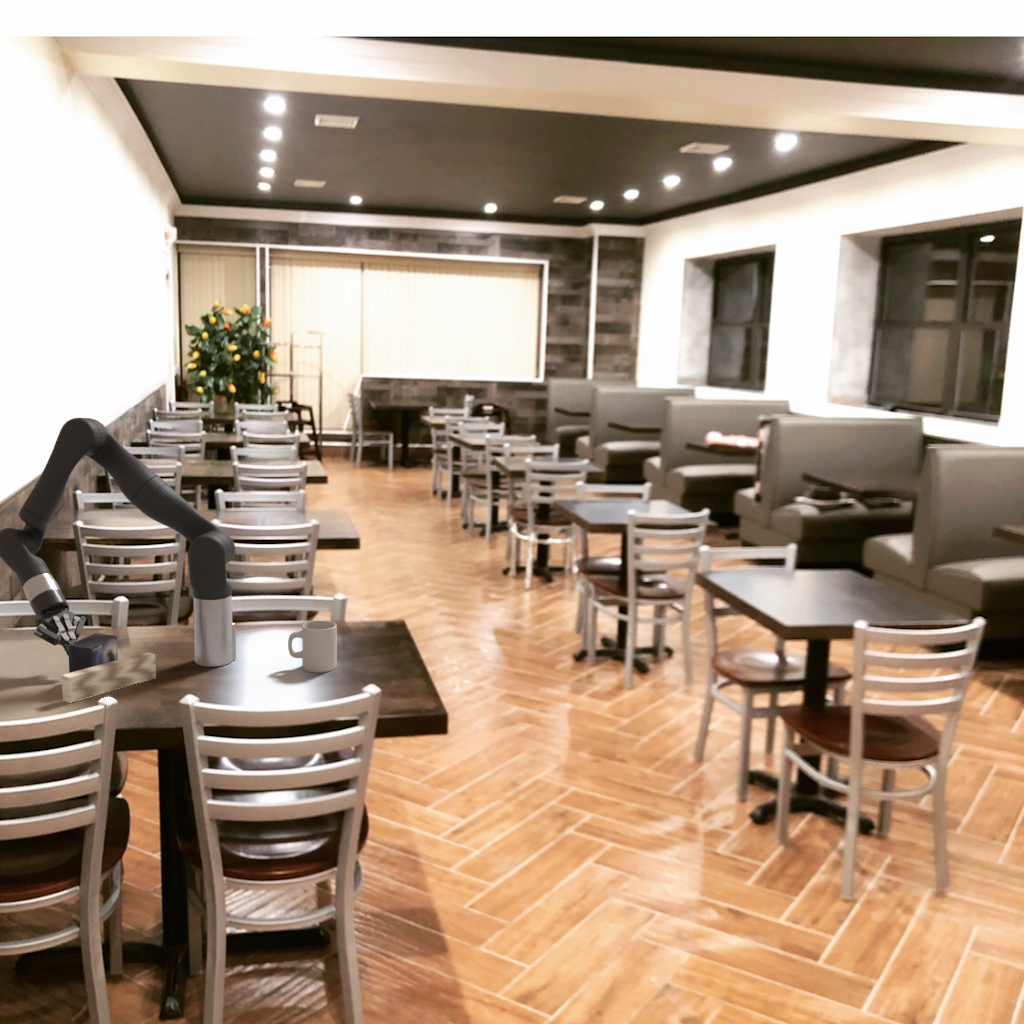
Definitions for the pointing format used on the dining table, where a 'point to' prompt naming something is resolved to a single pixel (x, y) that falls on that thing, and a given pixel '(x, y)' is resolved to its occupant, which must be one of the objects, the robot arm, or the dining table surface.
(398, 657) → the dining table surface
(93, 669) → the maple board
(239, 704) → the dining table surface
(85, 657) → the small box
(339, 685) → the dining table surface
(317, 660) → the mug
